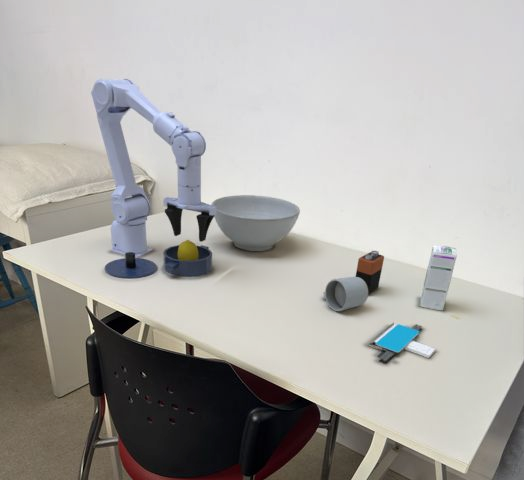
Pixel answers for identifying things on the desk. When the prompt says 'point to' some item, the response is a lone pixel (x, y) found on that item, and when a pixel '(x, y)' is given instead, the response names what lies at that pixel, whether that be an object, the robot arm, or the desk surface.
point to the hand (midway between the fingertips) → (189, 237)
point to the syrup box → (438, 277)
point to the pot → (187, 262)
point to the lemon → (187, 251)
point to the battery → (370, 269)
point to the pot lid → (130, 267)
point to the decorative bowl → (255, 220)
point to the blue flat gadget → (399, 342)
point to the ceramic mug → (346, 293)
